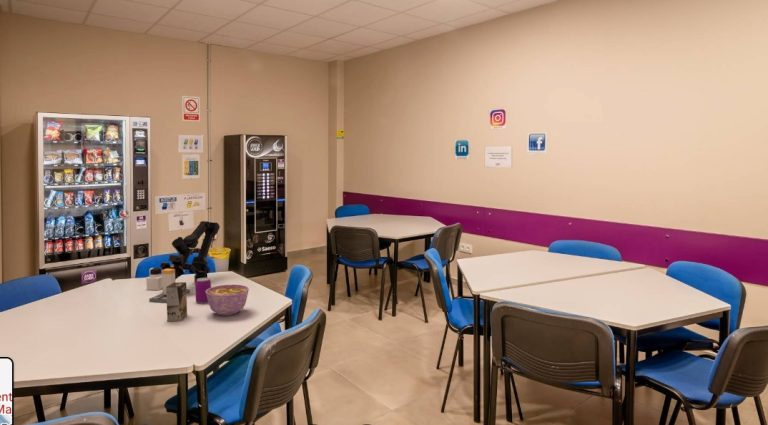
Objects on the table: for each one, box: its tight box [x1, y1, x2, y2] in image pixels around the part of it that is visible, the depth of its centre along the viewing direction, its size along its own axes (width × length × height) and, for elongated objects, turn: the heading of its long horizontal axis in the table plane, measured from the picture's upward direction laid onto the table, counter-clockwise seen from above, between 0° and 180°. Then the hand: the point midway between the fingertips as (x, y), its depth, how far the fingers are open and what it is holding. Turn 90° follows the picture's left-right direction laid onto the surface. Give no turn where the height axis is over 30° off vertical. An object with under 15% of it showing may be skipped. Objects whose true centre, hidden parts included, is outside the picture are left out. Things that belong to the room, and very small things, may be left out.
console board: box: [148, 288, 191, 304], centre depth 261 cm, size 21×10×2 cm, turn 170°
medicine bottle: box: [145, 266, 162, 291], centre depth 276 cm, size 7×7×12 cm
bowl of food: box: [205, 284, 250, 317], centre depth 235 cm, size 20×20×12 cm
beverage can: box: [194, 277, 212, 304], centre depth 253 cm, size 8×8×12 cm
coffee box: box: [166, 281, 188, 322], centre depth 226 cm, size 9×6×16 cm
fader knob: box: [161, 269, 176, 294], centre depth 259 cm, size 4×5×13 cm
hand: (171, 281), depth 262 cm, fingers closed
